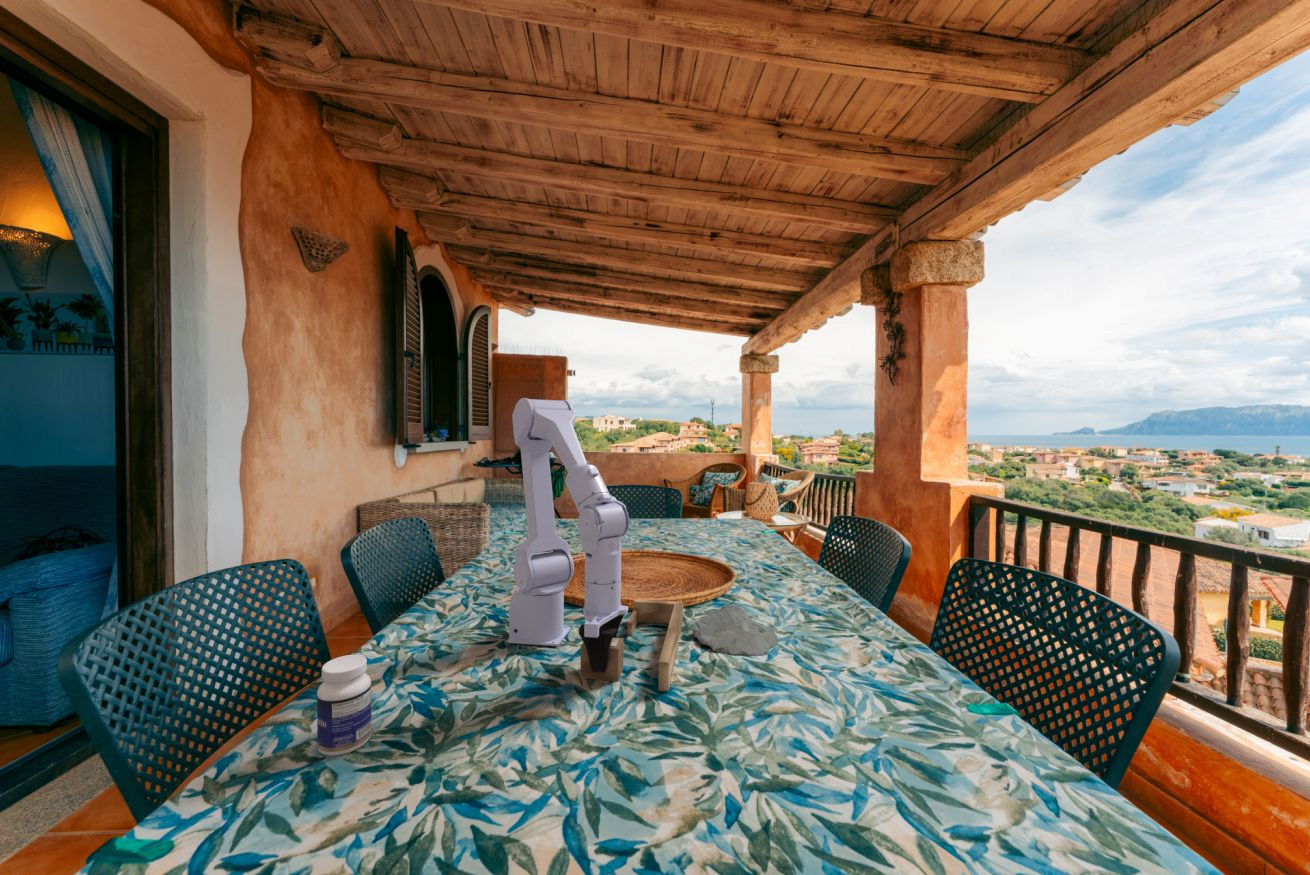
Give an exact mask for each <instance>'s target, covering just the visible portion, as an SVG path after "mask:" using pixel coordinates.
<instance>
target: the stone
mask: <svg viewBox="0 0 1310 875" xmlns="http://www.w3.org/2000/svg"><path fill="white" fill-rule="evenodd" d="M691 628H692V630H691V631H692V633H693V637H694V638H696V639H697V641H698V642H699V643H700V645H705V646H707V647H708V646H709V647H710V648H711V650H712V651H713V652H717V653H723V654H727V655H729V656H747V657H759V656H764V655H766V654H768V653H769V650H770V649H772V648H774V647H775V646H777V643H778V638H777V637H778V636H777V634H776V633H775V627H772V626H771V625H770V626H767V625H762V624H760V623H759V622H757V621H755V620H753V619H752V618H751V617H750V616H749V615H748V614H747V613H746V612H745V609H744V608H743V607H742V606H740V605H737V604H728V605H723V606H722V607H720V608H719V609H717V610H715V611H714V612H712V613H709V614H708V615H706V616H703V617H702V618H700V619H698V620H696V621H694V624H693V625H692V627H691ZM763 654H764V655H763Z"/></svg>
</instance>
